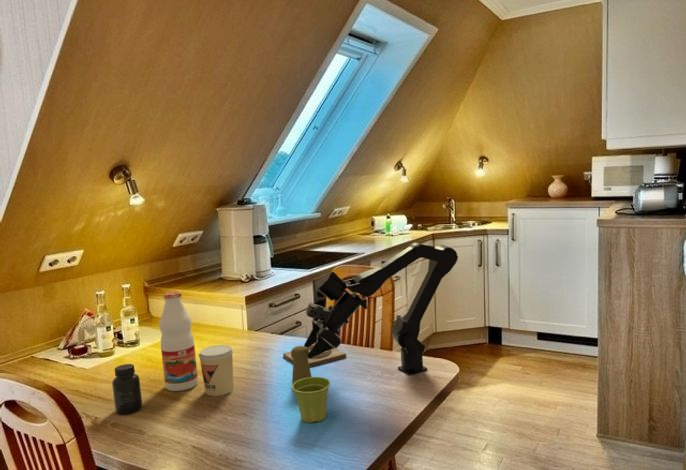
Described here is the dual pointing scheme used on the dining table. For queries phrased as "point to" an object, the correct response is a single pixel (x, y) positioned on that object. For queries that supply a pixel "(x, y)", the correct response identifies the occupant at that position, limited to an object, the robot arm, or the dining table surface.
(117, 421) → the dining table surface
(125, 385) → the supplement bottle
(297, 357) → the olive brown pestle
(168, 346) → the fruit juice
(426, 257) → the robot arm
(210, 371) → the white canister
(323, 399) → the plant pot
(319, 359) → the ring board
